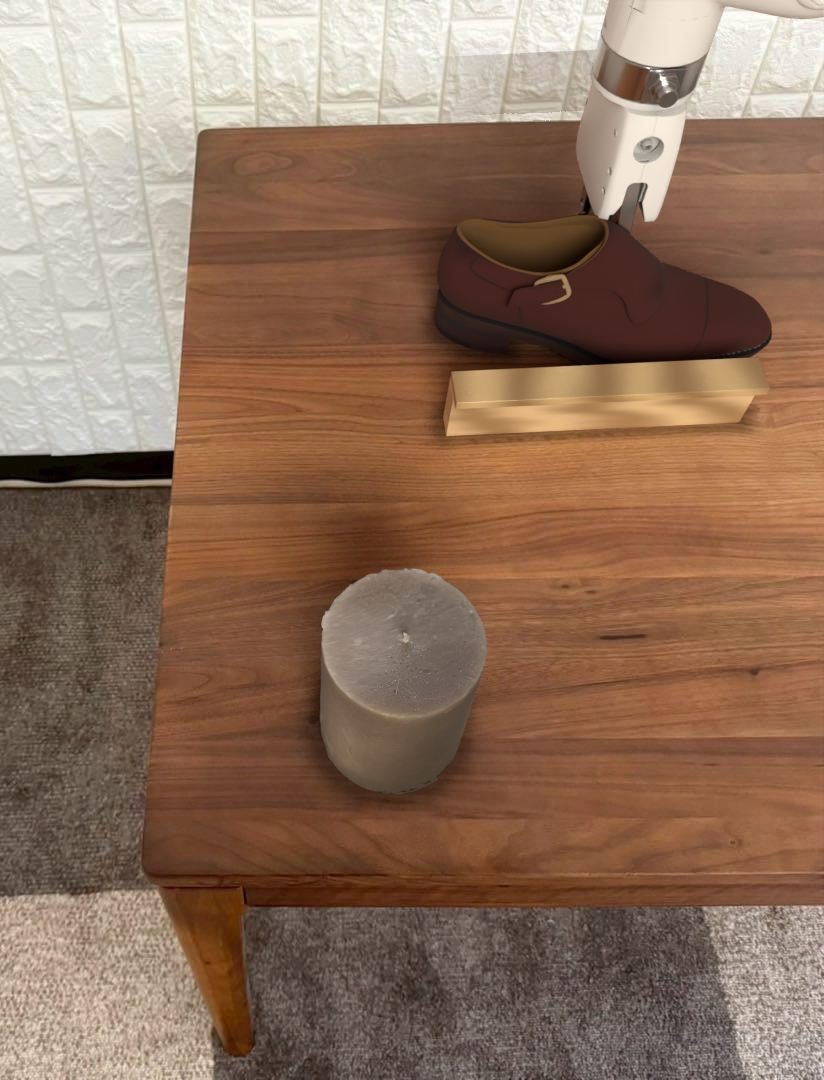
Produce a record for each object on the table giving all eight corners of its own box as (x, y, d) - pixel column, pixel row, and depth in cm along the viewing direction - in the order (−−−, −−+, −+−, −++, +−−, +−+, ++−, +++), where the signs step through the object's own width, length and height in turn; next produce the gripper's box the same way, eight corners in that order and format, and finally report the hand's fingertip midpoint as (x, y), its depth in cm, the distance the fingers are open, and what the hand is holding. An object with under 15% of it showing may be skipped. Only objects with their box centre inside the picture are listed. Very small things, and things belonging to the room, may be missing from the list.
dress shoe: (764, 395, 84) (824, 303, 74) (426, 361, 87) (438, 268, 77) (758, 308, 88) (814, 209, 78) (435, 279, 91) (448, 180, 81)
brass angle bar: (732, 403, 84) (758, 356, 79) (743, 434, 82) (770, 388, 77) (442, 417, 84) (451, 371, 79) (447, 448, 82) (456, 403, 77)
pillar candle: (452, 806, 67) (486, 724, 54) (307, 781, 68) (306, 694, 55) (466, 672, 72) (499, 568, 59) (330, 651, 73) (334, 544, 60)
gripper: (729, 124, 68) (651, 316, 84) (674, -3, 76) (612, 194, 92) (619, 130, 68) (561, 321, 84) (575, 2, 76) (529, 199, 92)
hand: (588, 254), depth 88 cm, fingers closed
